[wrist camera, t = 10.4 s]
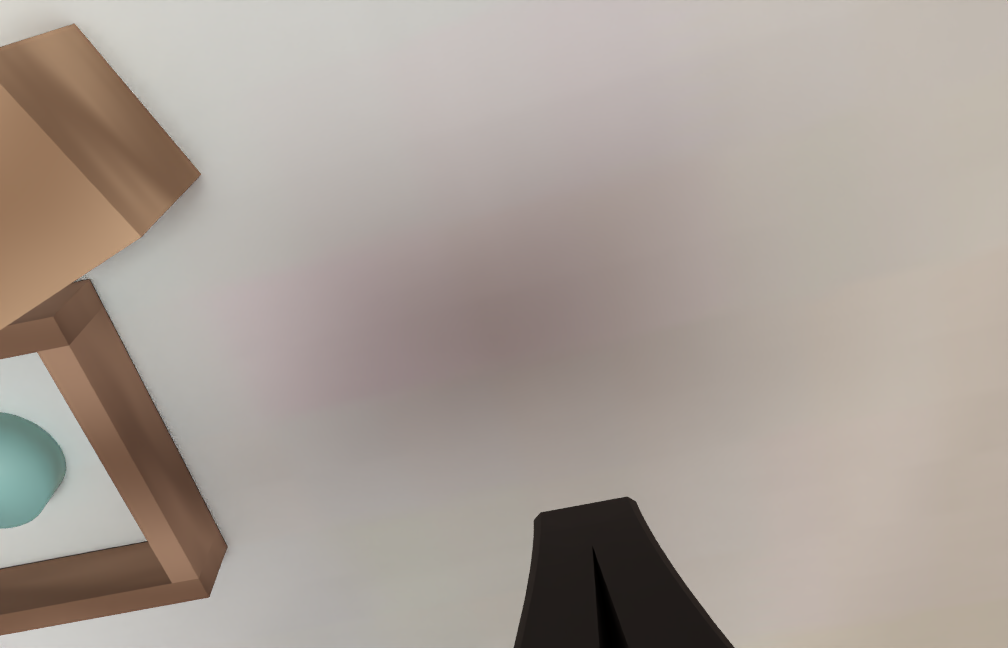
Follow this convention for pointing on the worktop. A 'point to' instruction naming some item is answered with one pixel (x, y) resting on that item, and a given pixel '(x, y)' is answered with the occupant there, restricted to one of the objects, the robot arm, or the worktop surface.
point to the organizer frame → (130, 464)
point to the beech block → (73, 167)
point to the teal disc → (26, 470)
